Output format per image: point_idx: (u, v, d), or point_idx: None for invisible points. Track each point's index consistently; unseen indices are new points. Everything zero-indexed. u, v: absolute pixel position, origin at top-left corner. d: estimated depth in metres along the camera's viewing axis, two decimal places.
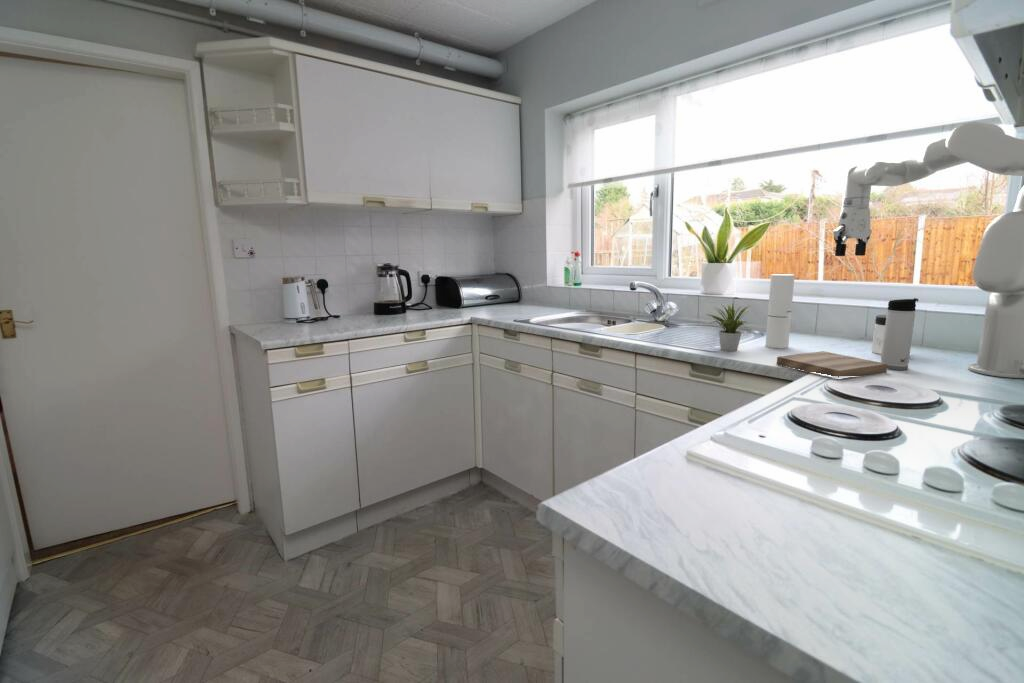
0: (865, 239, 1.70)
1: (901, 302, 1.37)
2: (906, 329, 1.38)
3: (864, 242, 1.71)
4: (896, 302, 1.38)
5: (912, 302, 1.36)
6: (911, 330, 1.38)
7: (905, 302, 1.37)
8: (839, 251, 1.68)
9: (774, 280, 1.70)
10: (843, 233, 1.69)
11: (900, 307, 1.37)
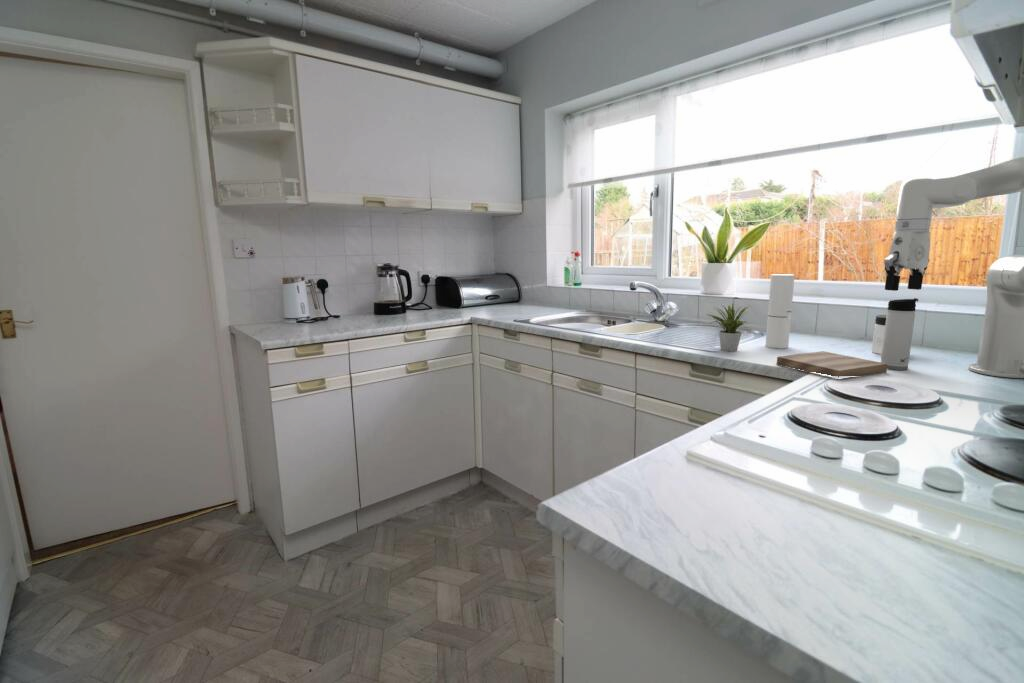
0: (922, 270, 1.38)
1: (901, 302, 1.37)
2: (906, 329, 1.38)
3: (920, 273, 1.39)
4: (896, 302, 1.38)
5: (912, 302, 1.36)
6: (911, 330, 1.38)
7: (905, 302, 1.37)
8: (891, 284, 1.36)
9: (774, 280, 1.70)
10: (896, 262, 1.37)
11: (900, 307, 1.37)
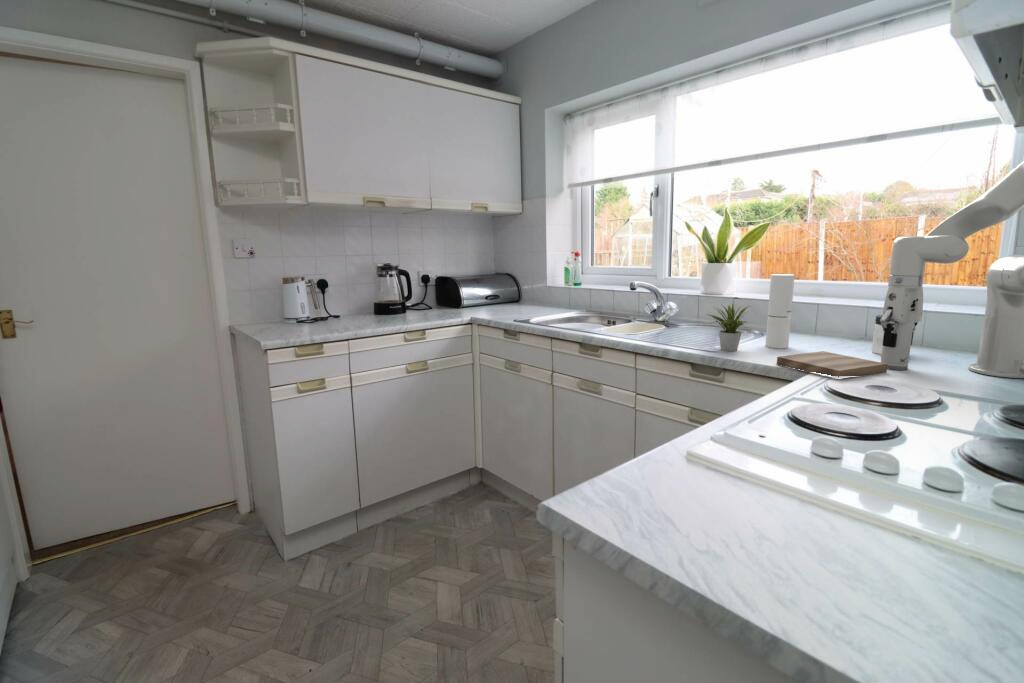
0: None
1: None
2: (906, 329, 1.38)
3: None
4: None
5: (912, 302, 1.36)
6: (911, 330, 1.38)
7: None
8: (888, 341, 1.39)
9: (774, 280, 1.70)
10: (890, 316, 1.40)
11: None
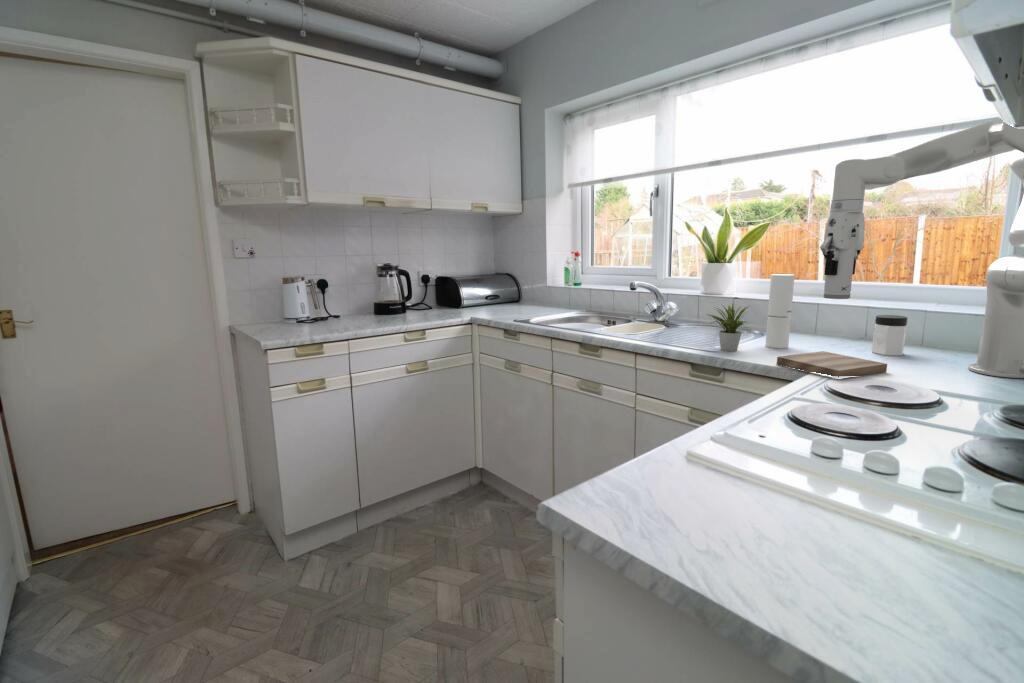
0: None
1: None
2: (847, 256, 1.34)
3: None
4: None
5: None
6: (852, 257, 1.35)
7: None
8: (829, 269, 1.36)
9: (774, 280, 1.70)
10: (831, 244, 1.36)
11: None
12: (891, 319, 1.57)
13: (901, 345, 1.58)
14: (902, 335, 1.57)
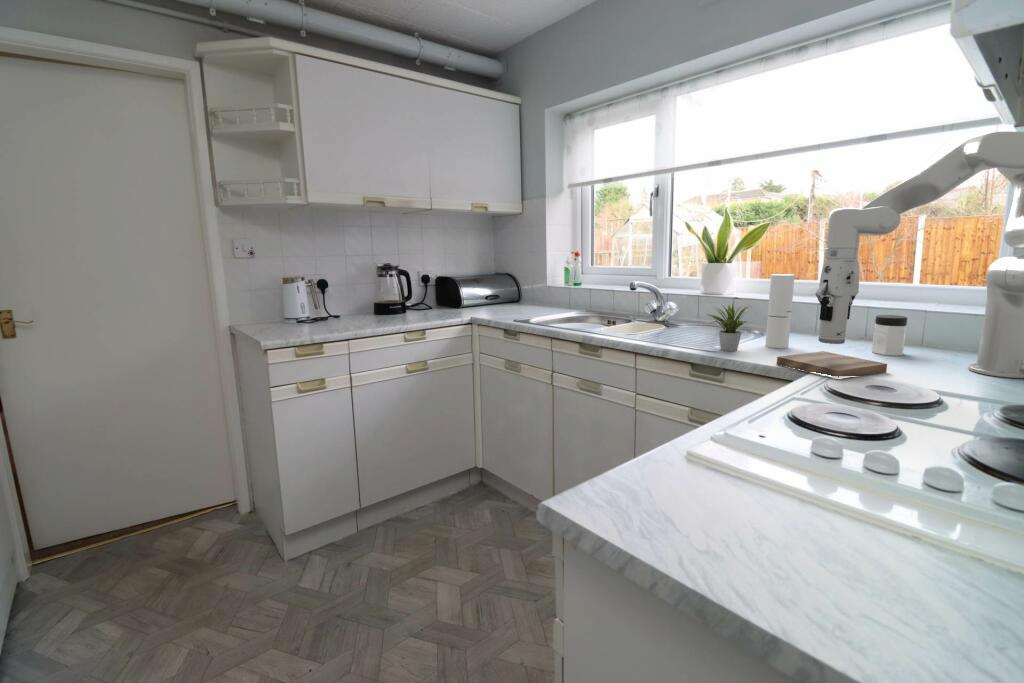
0: (849, 300, 1.40)
1: None
2: (841, 302, 1.37)
3: None
4: None
5: None
6: (847, 303, 1.37)
7: None
8: (824, 315, 1.38)
9: (774, 280, 1.70)
10: (826, 290, 1.39)
11: None
12: (891, 319, 1.57)
13: (901, 345, 1.58)
14: (902, 335, 1.57)
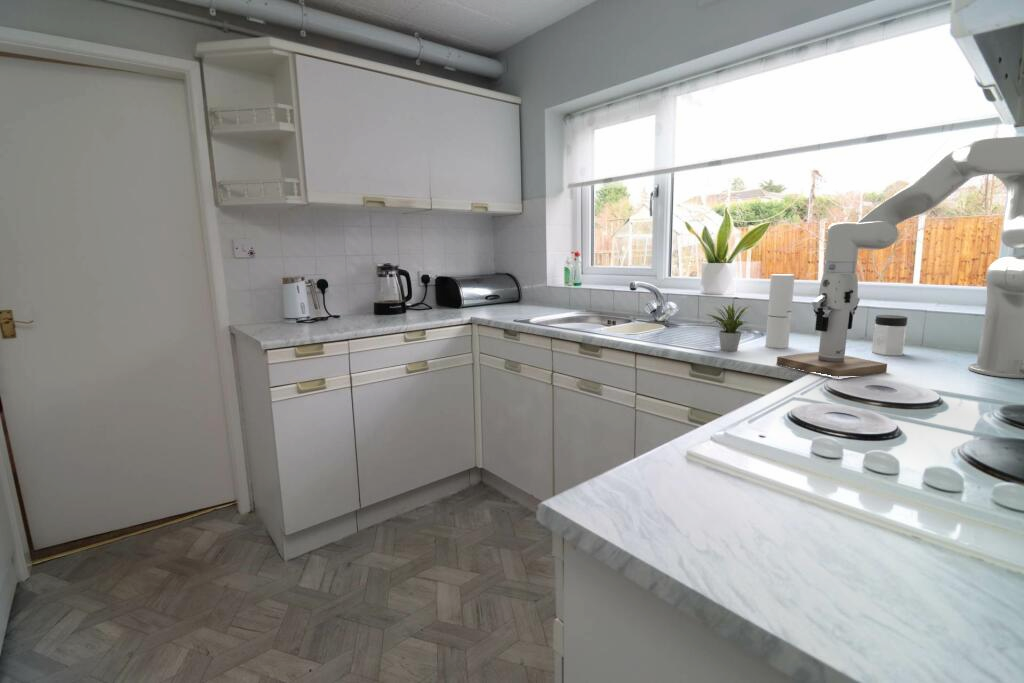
0: (852, 310, 1.41)
1: None
2: (841, 321, 1.38)
3: (850, 313, 1.41)
4: None
5: (847, 293, 1.36)
6: (846, 322, 1.38)
7: None
8: (820, 325, 1.38)
9: (774, 280, 1.70)
10: (825, 303, 1.39)
11: None
12: (891, 319, 1.57)
13: (901, 345, 1.58)
14: (902, 335, 1.57)
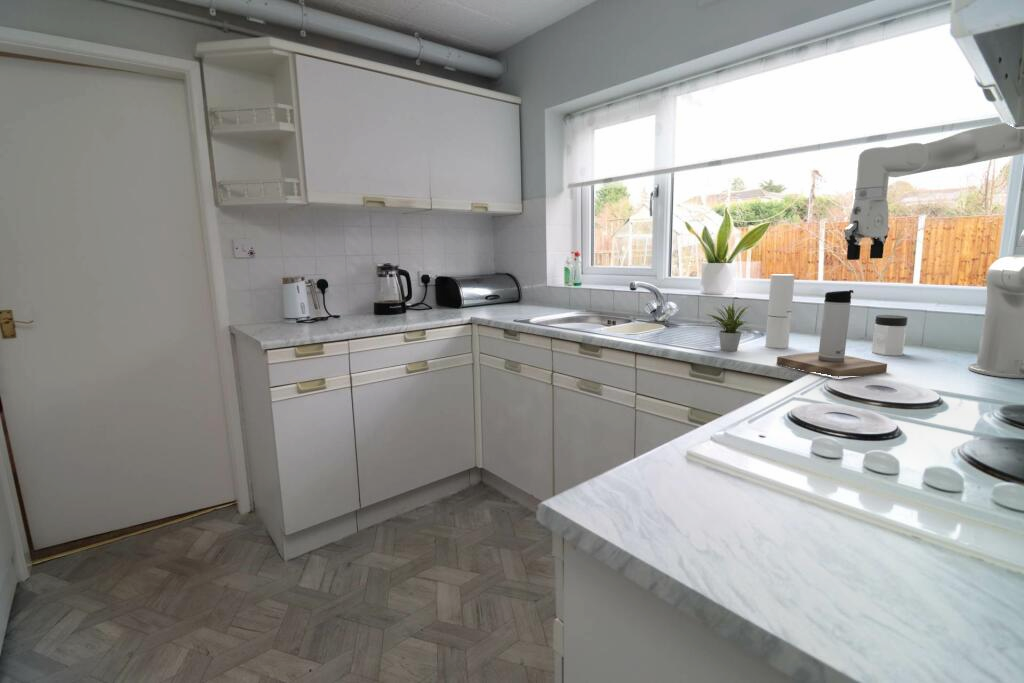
0: (882, 238, 1.39)
1: (836, 294, 1.37)
2: (841, 321, 1.38)
3: (881, 242, 1.40)
4: (832, 294, 1.38)
5: (847, 294, 1.36)
6: (846, 322, 1.38)
7: (840, 294, 1.37)
8: (852, 254, 1.37)
9: (774, 280, 1.70)
10: (856, 232, 1.38)
11: (836, 298, 1.37)
12: (891, 319, 1.57)
13: (901, 345, 1.58)
14: (902, 335, 1.57)
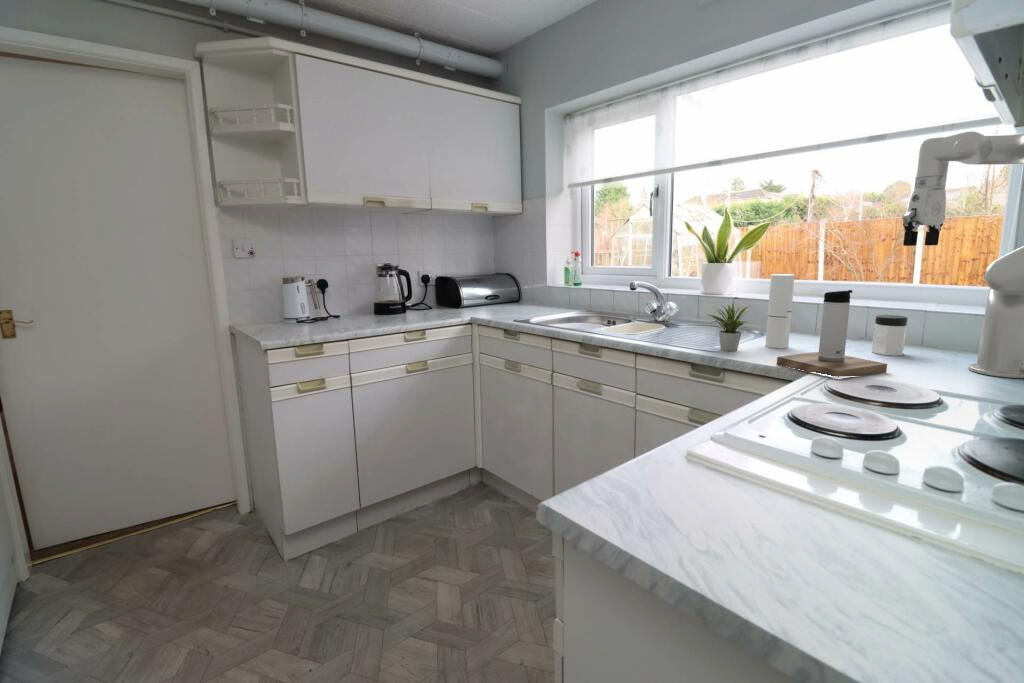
0: (938, 226, 1.45)
1: (835, 294, 1.37)
2: (841, 321, 1.38)
3: (937, 229, 1.46)
4: (831, 294, 1.38)
5: (846, 294, 1.36)
6: (846, 322, 1.38)
7: (839, 294, 1.37)
8: (909, 240, 1.43)
9: (774, 280, 1.70)
10: (913, 219, 1.44)
11: (835, 298, 1.37)
12: (891, 319, 1.57)
13: (901, 345, 1.58)
14: (902, 335, 1.57)
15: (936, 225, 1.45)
